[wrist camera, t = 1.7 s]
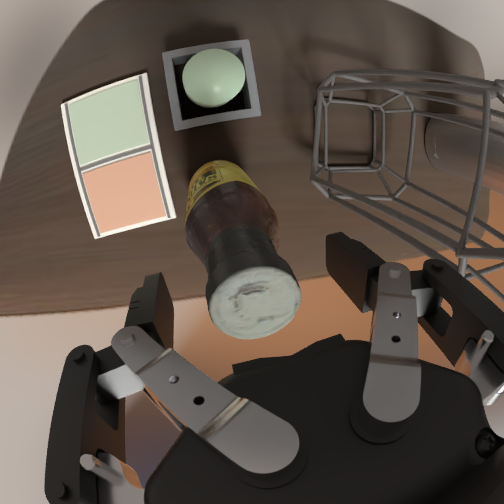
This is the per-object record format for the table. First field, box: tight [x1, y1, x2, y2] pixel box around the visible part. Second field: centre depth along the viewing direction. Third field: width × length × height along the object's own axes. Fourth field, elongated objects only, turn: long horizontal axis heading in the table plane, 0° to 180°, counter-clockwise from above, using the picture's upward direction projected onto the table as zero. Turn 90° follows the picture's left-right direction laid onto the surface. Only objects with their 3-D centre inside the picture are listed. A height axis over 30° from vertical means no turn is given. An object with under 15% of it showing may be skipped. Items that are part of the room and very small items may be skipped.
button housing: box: [162, 39, 261, 131], centre depth 22 cm, size 8×8×3 cm
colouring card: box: [61, 73, 176, 239], centre depth 24 cm, size 10×16×1 cm, turn 9°
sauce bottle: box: [185, 160, 301, 339], centre depth 20 cm, size 7×6×20 cm
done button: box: [182, 49, 245, 108], centre depth 20 cm, size 5×5×4 cm
